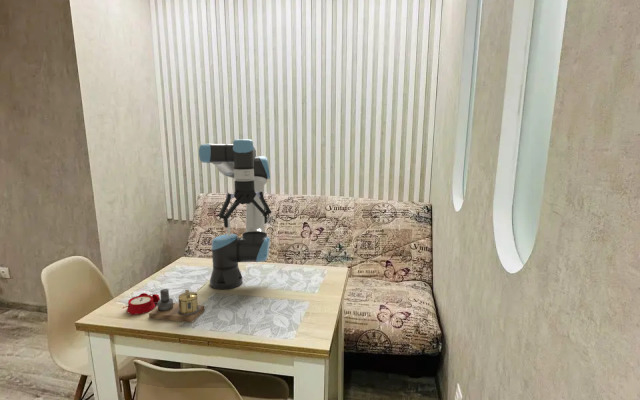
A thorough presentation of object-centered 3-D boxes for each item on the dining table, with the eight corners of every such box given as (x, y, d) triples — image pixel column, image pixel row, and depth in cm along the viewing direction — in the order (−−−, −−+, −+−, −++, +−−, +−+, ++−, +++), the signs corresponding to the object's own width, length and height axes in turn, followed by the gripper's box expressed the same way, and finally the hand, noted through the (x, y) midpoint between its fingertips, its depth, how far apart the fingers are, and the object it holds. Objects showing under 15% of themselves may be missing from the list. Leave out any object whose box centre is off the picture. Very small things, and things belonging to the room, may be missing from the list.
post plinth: (149, 318, 143) (147, 295, 142) (164, 306, 153) (162, 284, 151) (191, 322, 140) (190, 298, 138) (204, 310, 150) (203, 288, 148)
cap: (178, 307, 147) (177, 290, 145) (196, 304, 150) (195, 287, 148) (180, 315, 141) (179, 297, 139) (199, 311, 143) (198, 294, 142)
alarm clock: (118, 306, 145) (142, 283, 159) (122, 319, 148) (145, 295, 161) (141, 308, 143) (163, 285, 157) (145, 321, 146) (166, 297, 159)
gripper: (212, 182, 133) (215, 239, 137) (278, 179, 144) (279, 232, 148) (209, 180, 140) (212, 234, 144) (272, 177, 151) (273, 227, 154)
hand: (246, 233), depth 146 cm, fingers open, 13 cm apart
